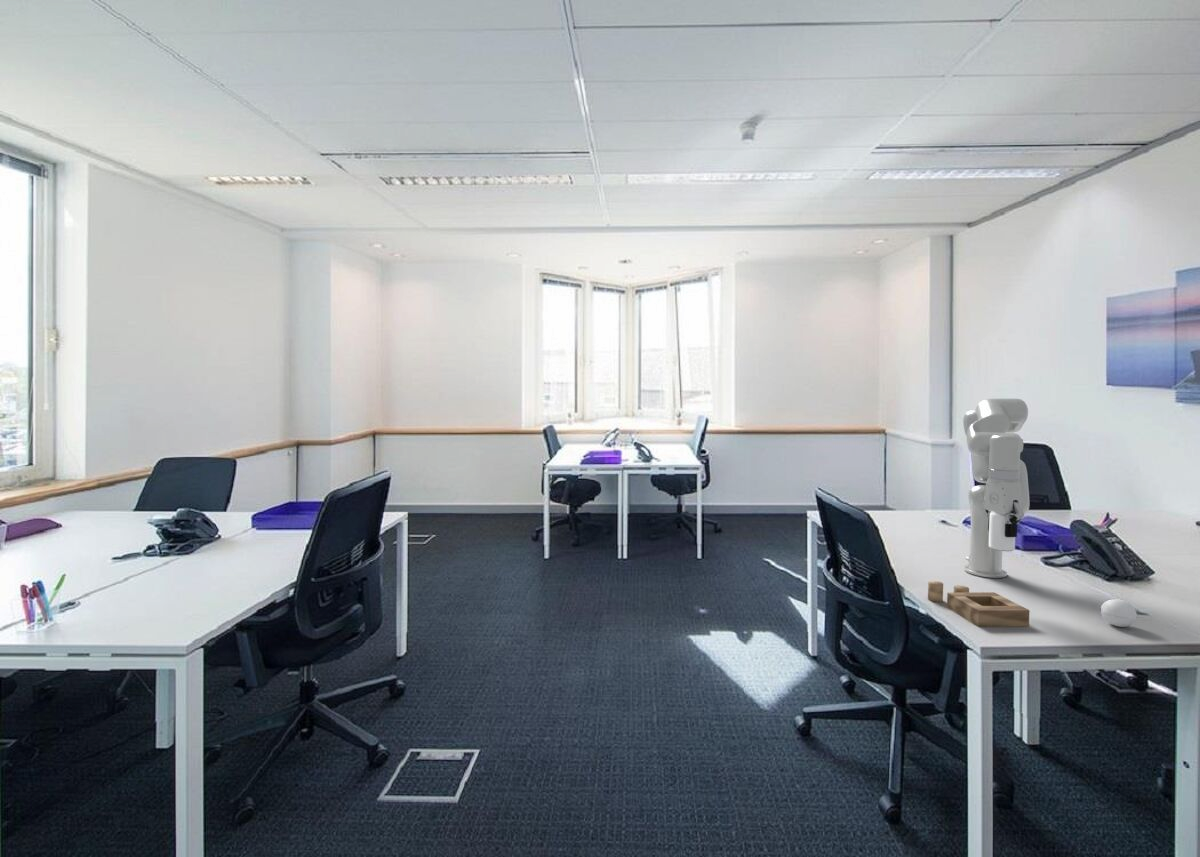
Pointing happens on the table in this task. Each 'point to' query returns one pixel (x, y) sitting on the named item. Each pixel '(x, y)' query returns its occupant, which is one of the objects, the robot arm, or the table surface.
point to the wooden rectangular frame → (988, 609)
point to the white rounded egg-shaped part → (1118, 612)
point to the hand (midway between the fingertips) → (1002, 533)
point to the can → (999, 533)
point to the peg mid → (935, 591)
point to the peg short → (961, 589)
